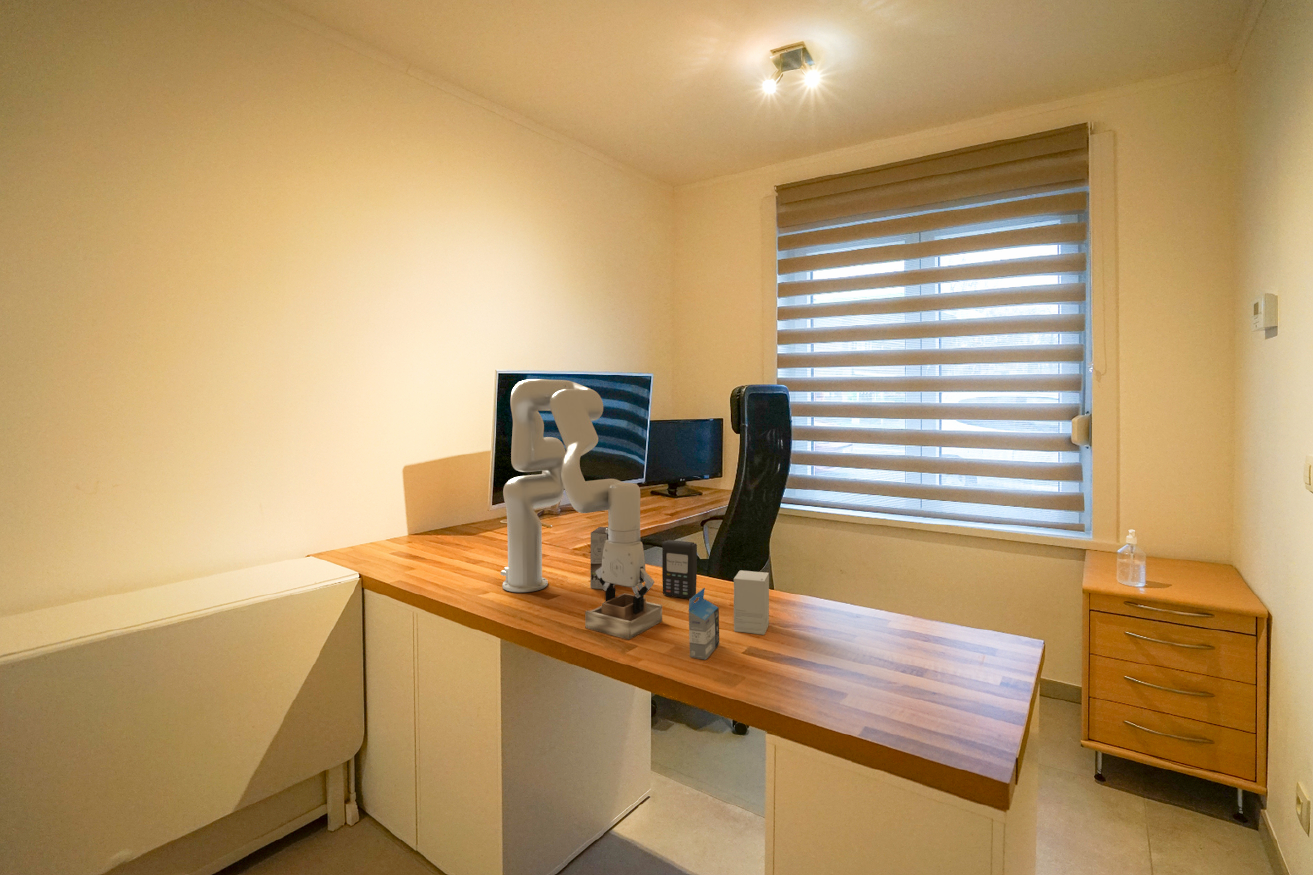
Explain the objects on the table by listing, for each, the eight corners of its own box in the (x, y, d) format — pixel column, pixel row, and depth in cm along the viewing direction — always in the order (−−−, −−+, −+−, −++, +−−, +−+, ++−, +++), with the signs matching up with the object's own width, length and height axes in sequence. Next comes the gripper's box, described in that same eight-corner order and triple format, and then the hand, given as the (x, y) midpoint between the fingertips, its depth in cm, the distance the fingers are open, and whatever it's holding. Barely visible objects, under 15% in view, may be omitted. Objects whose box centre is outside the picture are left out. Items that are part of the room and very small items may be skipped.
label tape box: (706, 660, 124) (706, 601, 123) (687, 657, 126) (688, 599, 125) (720, 644, 132) (720, 589, 131) (702, 641, 134) (702, 587, 133)
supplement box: (769, 624, 144) (770, 572, 143) (764, 635, 137) (765, 581, 136) (739, 620, 147) (739, 569, 146) (732, 631, 140) (733, 577, 139)
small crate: (601, 624, 142) (601, 603, 141) (624, 612, 149) (624, 593, 149) (623, 629, 138) (623, 608, 138) (645, 618, 146) (645, 597, 145)
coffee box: (611, 590, 169) (611, 533, 168) (589, 588, 171) (589, 532, 170) (620, 580, 178) (620, 526, 177) (599, 579, 180) (599, 525, 179)
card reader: (660, 596, 164) (660, 541, 163) (666, 591, 168) (666, 538, 167) (692, 600, 161) (692, 545, 160) (697, 596, 164) (697, 541, 163)
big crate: (585, 627, 141) (585, 611, 141) (620, 610, 153) (620, 595, 152) (628, 639, 134) (628, 622, 134) (662, 621, 146) (662, 605, 146)
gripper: (585, 533, 144) (585, 606, 145) (645, 543, 134) (645, 621, 135) (604, 528, 150) (605, 598, 151) (663, 537, 141) (663, 611, 142)
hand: (624, 608), depth 143 cm, fingers open, 7 cm apart
